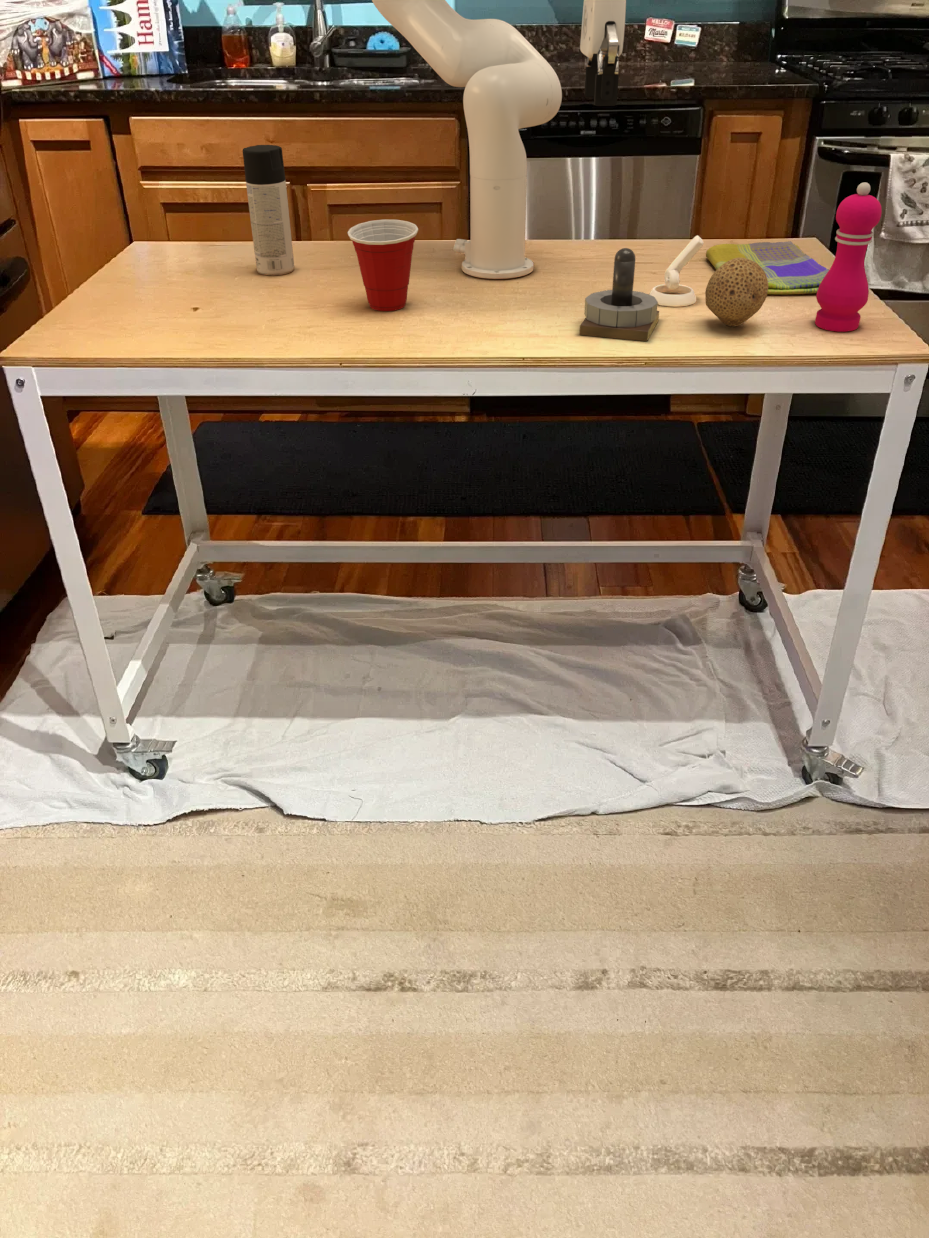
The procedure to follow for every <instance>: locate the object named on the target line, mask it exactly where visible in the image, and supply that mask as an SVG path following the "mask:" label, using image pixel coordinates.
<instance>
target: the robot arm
mask: <svg viewBox="0 0 929 1238" xmlns="http://www.w3.org/2000/svg"><path fill="white" fill-rule="evenodd" d="M371 2H372V4H373V5H374V7H375V8H376V10H377V11H378V12H379V13H380V14H381V16H382V17H383V18H384V19H385V21H387V22H388V24H390V25H391V26H392V27H393V28H394V29H396V31H398V32H399V33H400V34H401V36H402V37H404V38H405V40H406V41H408V43H409V44H410V45H411V46H412V47H413V48H414V50H415V51H416V52H417V53H418V54H419V55H420V56H421V58H422V59H424V61H425V62H426V63H427V64H428V65H429V66H430V67H431V68H432V69H433V71H434V72H435V73H436V74H437V75H438V76H439V77H440V78H441V79H442V80H443V81H444V82H445V83H446V84H448V85H449V86H452V87H454V88H455V87H456V88H464V90H463V95H462V96H463V97H462V103H463V112H464V119H465V123H466V128H467V129H466V131H467V136H468V137H467V139H468V147H469V148H468V149H469V192H470V193H469V198H470V199H469V201H470V203H469V204H470V205H469V207H470V210H469V211H470V213H469V216H470V217H469V218H470V219H469V221H470V226H469V227H470V228H469V229H470V230H469V231H470V233H469V234H470V235H469V236H470V240H467V239H463V238H456V240H455V242H454V245H453V250H452V251H453V253H456V254H464V260H463V261H462V262H461V270H462V272H464V274H466V275H469V276H470V277H475V278H480V279H489V280H490V279H491V280H505V279H506V280H507V279H515V278H520V277H524V276H527V275H529V274H530V273H532V272H533V271H534V267H535V266H534V264H535V263H534V261H533V260H532V259H531V258H528V257H526V232H527V231H526V229H527V227H526V225H527V189H528V159H527V152H526V148H525V145H524V143H523V141H522V138H521V135H520V131H519V130H521V129H524V128H525V129H526V128H531V127H536V126H540V125H543V124H547V123H548V122H549V121H551V120H552V119H553V118H554V117H555V116H556V115H557V113H558V112H559V110H560V107H561V105H562V101H563V100H562V99H563V91H562V90H563V89H562V84H561V82H560V79H559V76H558V75H557V73H556V71H555V70H554V68H553V67H552V65H551V64H550V63H549V62H548V61H547V59H546V58H545V57H543V55H542V54H540V52H539V51H538V50H537V49H536V48H535V47H534V46H533V44H531V43H530V42H529V41H528V40H527V39H526V37H524V36H523V34H522V33H521V32H520V31H519V30H518V29H517V28H516V27H514V26H513V25H511V24H510V23H508V22H507V21H504V20H502V19H499V18H481V19H480V18H479V19H471V18H465V17H464V16H463V15H461V14H459V13H458V12H457V11H456V10H455V9H454V8H453V7H452V6H451V5H450V4H449V2H447V0H371ZM582 5H583V6H582V19H581V29H580V30H581V31H580V41H579V42H580V43H579V50H580V52H581V53H582V54H583V55H584V56H586V66H585V74H584V76H585V77H584V92H583V93H584V97H586V98H594V100H593V103H594V106H596V107H615V106H616V105H617V104H618V94H619V93H618V92H619V78H620V74H619V70H620V67H619V65H620V64H619V57H620V56H621V55H622V53H623V49H624V40H625V28H626V27H625V26H626V13H627V12H626V10H627V0H583V4H582Z"/></svg>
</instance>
